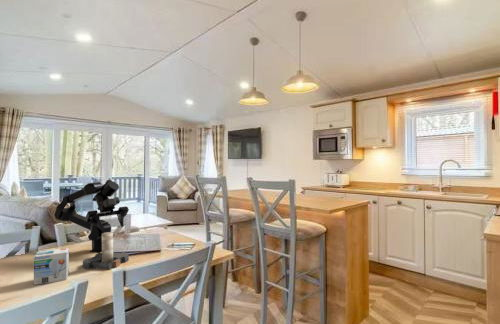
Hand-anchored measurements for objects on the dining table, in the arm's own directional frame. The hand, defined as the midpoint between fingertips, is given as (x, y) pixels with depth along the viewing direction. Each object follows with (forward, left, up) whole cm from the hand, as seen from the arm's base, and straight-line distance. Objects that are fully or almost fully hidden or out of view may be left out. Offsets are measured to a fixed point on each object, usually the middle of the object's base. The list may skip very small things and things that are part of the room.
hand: (113, 228), depth 135 cm
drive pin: (+5, -11, -14) cm, 18 cm away
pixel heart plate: (+3, -8, -14) cm, 16 cm away
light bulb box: (-6, -27, -14) cm, 31 cm away
